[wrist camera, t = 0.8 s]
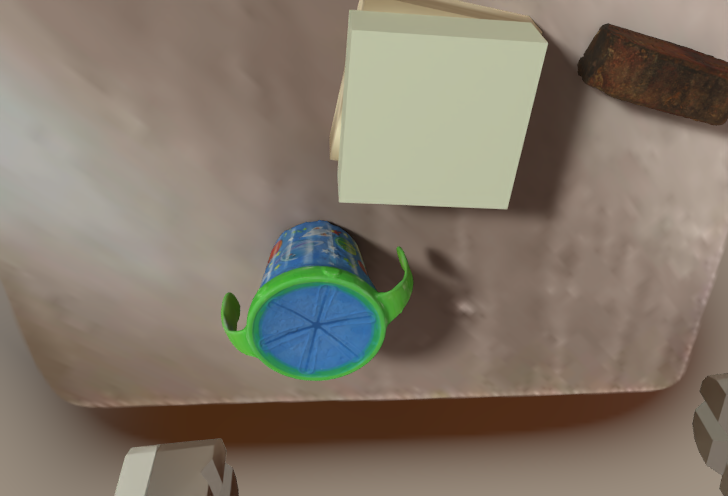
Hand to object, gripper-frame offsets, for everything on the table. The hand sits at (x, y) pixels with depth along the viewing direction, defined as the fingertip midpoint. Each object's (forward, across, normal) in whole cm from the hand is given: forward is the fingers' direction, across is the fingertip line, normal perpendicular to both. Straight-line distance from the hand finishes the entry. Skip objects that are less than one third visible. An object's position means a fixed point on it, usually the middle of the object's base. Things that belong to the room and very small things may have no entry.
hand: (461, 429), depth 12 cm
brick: (+40, -21, +11) cm, 47 cm away
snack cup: (+41, +6, +25) cm, 48 cm away
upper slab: (+37, -4, +10) cm, 38 cm away
